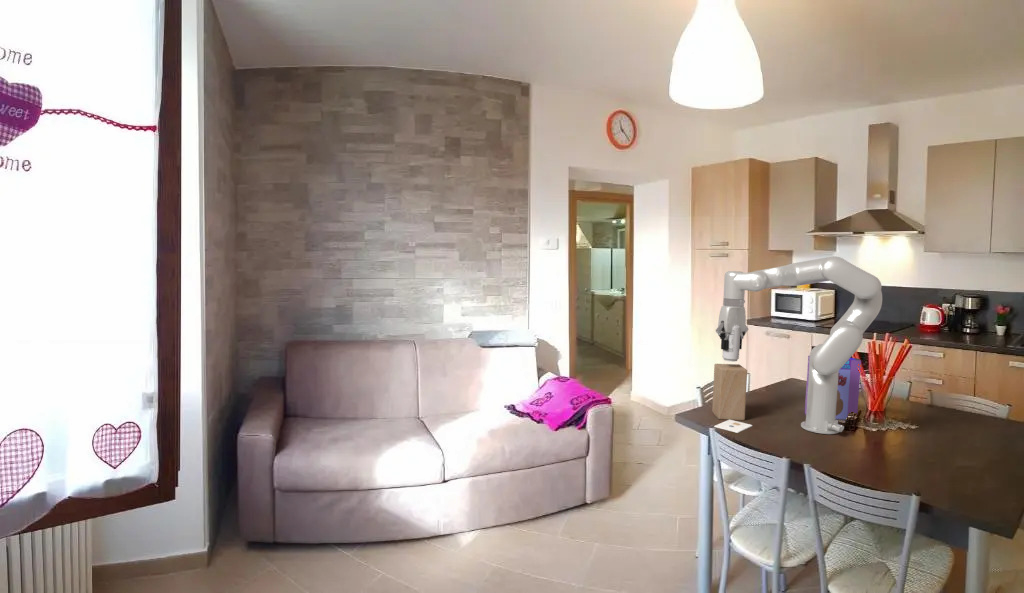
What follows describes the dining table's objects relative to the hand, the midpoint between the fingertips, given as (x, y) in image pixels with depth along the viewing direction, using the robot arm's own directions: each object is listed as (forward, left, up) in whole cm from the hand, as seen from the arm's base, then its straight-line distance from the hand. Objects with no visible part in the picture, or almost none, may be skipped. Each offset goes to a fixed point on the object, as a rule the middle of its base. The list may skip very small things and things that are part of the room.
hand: (731, 348), depth 222 cm
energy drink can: (0, 0, -5) cm, 5 cm away
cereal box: (-15, -38, -27) cm, 49 cm away
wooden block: (0, -1, -27) cm, 27 cm away
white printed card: (-10, +7, -27) cm, 30 cm away
